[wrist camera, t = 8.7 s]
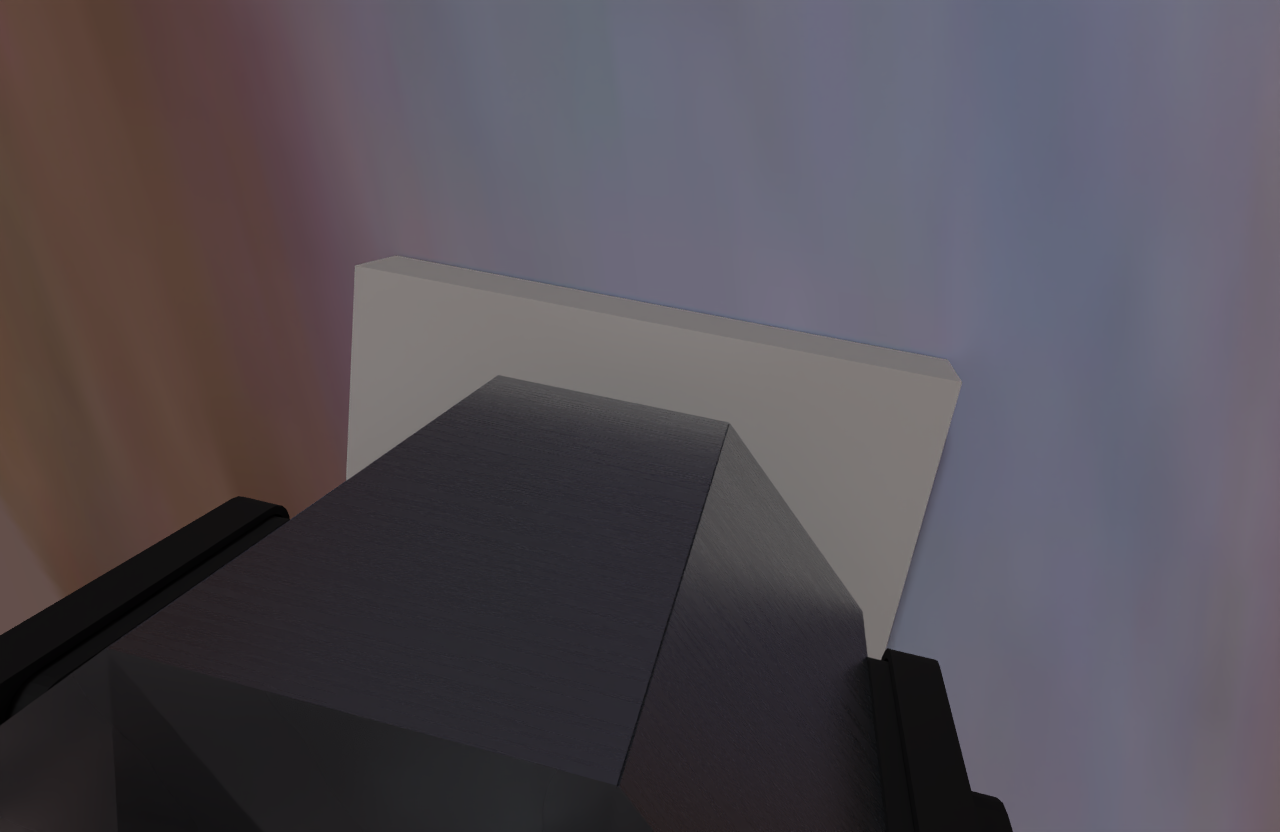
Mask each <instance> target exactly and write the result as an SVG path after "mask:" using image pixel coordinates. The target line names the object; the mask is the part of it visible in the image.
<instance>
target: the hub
mask: <svg viewBox="0 0 1280 832" xmlns="http://www.w3.org/2000/svg"><path fill="white" fill-rule="evenodd" d="M866 657H868V654H867V645H866V637H865V628H864V619H863V611H862V610H861V608H860V607H859V605H858V604H857V603H856V601H855V600H854V598H853V597H852V596H851V594H850V593H849V591H848V590H847V588H846V587H845V586H844V584H843V583H842V581H841V580H840V579H839V577H838V576H837V574H836V573H835V571H834V570H833V569H832V567H831V566H830V564H829V563H828V561H827V560H826V559H825V557H824V556H823V554H822V553H821V552H820V550H819V549H818V547H817V546H816V544H815V543H814V542H813V540H812V539H811V537H810V536H809V535H808V533H807V532H806V530H805V529H804V527H803V526H802V525H801V523H800V522H799V520H798V519H797V518H796V516H795V515H794V513H793V512H792V510H791V509H790V508H789V506H788V505H787V503H786V502H785V501H784V499H783V498H782V496H781V495H780V493H779V492H778V491H777V489H776V488H775V486H774V485H773V483H772V482H771V481H770V479H769V478H768V476H767V475H766V474H765V472H764V471H763V469H762V468H761V466H760V465H759V464H758V462H757V461H756V459H755V458H754V457H753V455H752V454H751V452H750V451H749V449H748V448H747V447H746V445H745V444H744V442H743V441H742V440H741V438H740V437H739V435H738V434H737V432H736V431H735V430H734V428H733V427H732V425H731V424H730V423H729V422H725V421H720V420H715V419H710V418H705V417H700V416H695V415H691V414H686V413H681V412H676V411H671V410H666V409H661V408H656V407H652V406H647V405H642V404H637V403H632V402H627V401H622V400H617V399H613V398H608V397H603V396H598V395H593V394H588V393H583V392H578V391H574V390H569V389H564V388H559V387H554V386H549V385H544V384H540V383H535V382H530V381H525V380H520V379H515V378H510V377H505V376H501V375H497V376H496V377H494V378H493V379H492V380H490V381H489V382H487V383H486V384H484V385H483V386H482V387H480V388H479V389H477V390H476V391H474V392H473V393H471V394H470V395H469V396H467V397H466V398H464V399H463V400H461V401H460V402H459V403H457V404H456V405H454V406H453V407H451V408H450V409H449V410H447V411H446V412H444V413H443V414H441V415H440V416H438V417H437V418H436V419H434V420H433V421H431V422H430V423H428V424H427V425H426V426H424V427H423V428H421V429H420V430H418V431H417V432H416V433H414V434H413V435H411V436H410V437H408V438H407V439H405V440H404V441H403V442H401V443H400V444H398V445H397V446H395V447H394V448H393V449H391V450H390V451H388V452H387V453H385V454H384V455H382V456H381V457H380V458H378V459H377V460H375V461H374V462H372V463H371V464H370V465H368V466H367V467H365V468H364V469H362V470H361V471H360V472H358V473H357V474H355V475H354V476H352V477H351V478H349V479H348V480H347V481H345V482H344V483H342V484H341V485H339V486H338V487H337V488H335V489H334V490H332V491H331V492H329V493H328V494H327V495H325V496H324V497H322V498H321V499H319V500H318V501H316V502H315V503H314V504H312V505H311V506H309V507H308V508H306V509H305V510H304V511H302V512H301V513H299V514H298V515H296V516H295V517H293V518H292V519H291V520H289V521H288V522H286V523H285V524H283V525H282V526H281V527H279V528H278V529H276V530H275V531H273V532H272V533H271V534H269V535H268V536H266V537H265V538H263V539H262V540H260V541H259V542H258V543H256V544H255V545H253V546H252V547H250V548H249V549H248V550H246V551H245V552H243V553H242V554H240V555H239V556H238V557H236V558H235V559H233V560H232V561H230V562H229V563H227V564H226V565H225V566H223V567H222V568H220V569H219V570H217V571H216V572H215V573H213V574H212V575H210V576H209V577H207V578H206V579H205V580H203V581H202V582H200V583H199V584H197V585H196V586H194V587H193V588H192V589H190V590H189V591H187V592H186V593H184V594H183V595H182V596H180V597H179V598H177V599H176V600H174V601H173V602H171V603H170V604H169V605H167V606H166V607H164V608H163V609H161V610H160V611H159V612H157V613H156V614H154V615H153V616H151V617H150V618H149V619H147V620H146V621H144V622H143V623H141V624H140V625H138V626H137V627H136V628H134V629H133V630H131V631H130V632H128V633H127V634H126V635H124V636H123V637H121V638H120V639H118V640H117V641H116V642H114V643H113V644H111V645H110V646H108V647H107V648H105V649H104V650H103V651H101V652H100V653H99V654H97V655H96V656H95V657H93V658H92V659H90V660H89V661H88V662H86V663H85V664H84V665H82V666H81V667H80V668H78V669H77V670H75V671H74V672H73V673H71V674H70V675H69V676H67V677H66V678H64V679H63V680H62V681H60V682H59V683H58V684H56V685H55V686H54V687H52V688H51V689H49V690H48V691H47V692H45V693H44V694H43V695H41V696H40V697H39V698H37V699H36V700H34V701H33V702H32V703H30V704H29V705H28V706H26V707H25V708H24V709H22V710H21V711H19V712H18V713H17V714H15V715H14V716H13V717H11V718H10V719H8V720H7V721H6V722H4V723H3V724H2V725H0V832H886V830H885V821H884V811H883V802H882V793H881V784H880V775H879V766H878V757H877V748H876V739H875V730H874V721H873V712H872V703H871V694H870V685H869V676H868V667H867V658H866Z"/></svg>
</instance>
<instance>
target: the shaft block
mask: <svg viewBox="0 0 1280 832" xmlns="http://www.w3.org/2000/svg"><path fill="white" fill-rule="evenodd" d="M497 375H501V376H505V377H510V378H515V379H520V380H525V381H530V382H535V383H540V384H544V385H549V386H554V387H559V388H564V389H569V390H574V391H578V392H583V393H588V394H593V395H598V396H603V397H608V398H613V399H617V400H622V401H627V402H632V403H637V404H642V405H647V406H652V407H656V408H661V409H666V410H671V411H676V412H681V413H686V414H691V415H695V416H700V417H705V418H710V419H715V420H720V421H725V422H729V423H730V424H731V425H732V427H733V428H734V430H735V431H736V432H737V434H738V435H739V437H740V438H741V440H742V441H743V442H744V444H745V445H746V447H747V448H748V449H749V451H750V452H751V454H752V455H753V457H754V458H755V459H756V461H757V462H758V464H759V465H760V466H761V468H762V469H763V471H764V472H765V474H766V475H767V476H768V478H769V479H770V481H771V482H772V483H773V485H774V486H775V488H776V489H777V491H778V492H779V493H780V495H781V496H782V498H783V499H784V501H785V502H786V503H787V505H788V506H789V508H790V509H791V510H792V512H793V513H794V515H795V516H796V518H797V519H798V520H799V522H800V523H801V525H802V526H803V527H804V529H805V530H806V532H807V533H808V535H809V536H810V537H811V539H812V540H813V542H814V543H815V544H816V546H817V547H818V549H819V550H820V552H821V553H822V554H823V556H824V557H825V559H826V560H827V561H828V563H829V564H830V566H831V567H832V569H833V570H834V571H835V573H836V574H837V576H838V577H839V579H840V580H841V581H842V583H843V584H844V586H845V587H846V588H847V590H848V591H849V593H850V594H851V596H852V597H853V598H854V600H855V601H856V603H857V604H858V605H859V607H860V608H861V610H862V611H863V619H864V628H865V637H866V645H867V654H868V657H870V658H874V659H879V660H881V658H882V656H883V654H884V652H885V650H886V646H887V643H888V639H889V636H890V632H891V629H892V625H893V622H894V618H895V615H896V611H897V608H898V604H899V601H900V597H901V594H902V590H903V587H904V583H905V580H906V576H907V573H908V569H909V566H910V562H911V559H912V555H913V552H914V548H915V545H916V541H917V538H918V534H919V531H920V527H921V524H922V521H923V517H924V514H925V510H926V507H927V503H928V500H929V496H930V493H931V489H932V486H933V482H934V479H935V475H936V472H937V468H938V465H939V461H940V458H941V454H942V451H943V447H944V444H945V440H946V437H947V433H948V430H949V426H950V423H951V419H952V416H953V412H954V409H955V405H956V402H957V398H958V395H959V391H960V388H961V384H962V381H961V380H960V378H959V377H958V375H957V374H956V372H955V370H954V369H953V367H952V366H951V364H950V363H949V361H948V360H946V359H941V358H936V357H931V356H925V355H920V354H915V353H909V352H904V351H899V350H894V349H888V348H883V347H878V346H872V345H867V344H862V343H857V342H851V341H846V340H841V339H835V338H830V337H825V336H819V335H814V334H809V333H804V332H798V331H793V330H788V329H782V328H777V327H772V326H767V325H761V324H756V323H751V322H745V321H740V320H735V319H730V318H724V317H719V316H714V315H708V314H703V313H698V312H693V311H687V310H682V309H677V308H671V307H666V306H661V305H656V304H650V303H645V302H640V301H634V300H629V299H624V298H618V297H613V296H608V295H603V294H597V293H592V292H587V291H581V290H576V289H571V288H566V287H560V286H555V285H550V284H544V283H539V282H534V281H529V280H523V279H518V278H513V277H507V276H502V275H497V274H492V273H486V272H481V271H476V270H470V269H465V268H460V267H455V266H449V265H444V264H439V263H433V262H428V261H423V260H417V259H412V258H407V257H402V256H392V257H388V258H384V259H380V260H376V261H372V262H368V263H364V264H360V265H355V281H354V305H353V330H352V354H351V378H350V402H349V426H348V450H347V474H346V481H347V480H348V479H349V478H351V477H352V476H354V475H355V474H357V473H358V472H360V471H361V470H362V469H364V468H365V467H367V466H368V465H370V464H371V463H372V462H374V461H375V460H377V459H378V458H380V457H381V456H382V455H384V454H385V453H387V452H388V451H390V450H391V449H393V448H394V447H395V446H397V445H398V444H400V443H401V442H403V441H404V440H405V439H407V438H408V437H410V436H411V435H413V434H414V433H416V432H417V431H418V430H420V429H421V428H423V427H424V426H426V425H427V424H428V423H430V422H431V421H433V420H434V419H436V418H437V417H438V416H440V415H441V414H443V413H444V412H446V411H447V410H449V409H450V408H451V407H453V406H454V405H456V404H457V403H459V402H460V401H461V400H463V399H464V398H466V397H467V396H469V395H470V394H471V393H473V392H474V391H476V390H477V389H479V388H480V387H482V386H483V385H484V384H486V383H487V382H489V381H490V380H492V379H493V378H494V377H496V376H497Z"/></svg>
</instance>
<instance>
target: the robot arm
mask: <svg viewBox="0 0 1280 832" xmlns="http://www.w3.org/2000/svg"><path fill="white" fill-rule="evenodd" d="M289 520H290V519H289V514H288V512H287V510H286V509H285V508H284V507H283V506H280V505H276V504H272V503H267V502H263V501H259V500H255V499H250V498H246V497H240V496H238V497H235V498H233V499H231V500H229V501H227V502H226V503H224V504H222V505H220V506H219V507H217V508H215V509H214V510H212V511H210V512H209V513H207V514H205V515H204V516H202V517H200V518H198V519H197V520H195V521H193V522H192V523H190V524H188V525H187V526H185V527H183V528H182V529H180V530H178V531H176V532H175V533H173V534H171V535H170V536H168V537H166V538H165V539H163V540H161V541H159V542H158V543H156V544H154V545H153V546H151V547H149V548H148V549H146V550H144V551H143V552H141V553H139V554H137V555H136V556H134V557H132V558H131V559H129V560H127V561H126V562H124V563H122V564H121V565H119V566H117V567H115V568H114V569H112V570H110V571H109V572H107V573H105V574H104V575H102V576H100V577H98V578H97V579H95V580H93V581H92V582H90V583H88V584H87V585H85V586H83V587H82V588H80V589H78V590H76V591H75V592H73V593H71V594H70V595H68V596H66V597H65V598H63V599H61V600H60V601H58V602H56V603H54V604H53V605H51V606H49V607H48V608H46V609H44V610H43V611H41V612H39V613H38V614H36V615H34V616H32V617H31V618H29V619H27V620H26V621H24V622H22V623H21V624H19V625H17V626H15V627H14V628H12V629H10V630H9V631H7V632H5V633H4V634H2V635H0V725H2V724H3V723H4V722H6V721H7V720H8V719H10V718H11V717H13V716H14V715H15V714H17V713H18V712H19V711H21V710H22V709H24V708H25V707H26V706H28V705H29V704H30V703H32V702H33V701H34V700H36V699H37V698H39V697H40V696H41V695H43V694H44V693H45V692H47V691H48V690H49V689H51V688H52V687H54V686H55V685H56V684H58V683H59V682H60V681H62V680H63V679H64V678H66V677H67V676H69V675H70V674H71V673H73V672H74V671H75V670H77V669H78V668H80V667H81V666H82V665H84V664H85V663H86V662H88V661H89V660H90V659H92V658H93V657H95V656H96V655H97V654H99V653H100V652H101V651H103V650H104V649H105V648H107V647H108V646H110V645H111V644H113V643H114V642H116V641H117V640H118V639H120V638H121V637H123V636H124V635H126V634H127V633H128V632H130V631H131V630H133V629H134V628H136V627H137V626H138V625H140V624H141V623H143V622H144V621H146V620H147V619H149V618H150V617H151V616H153V615H154V614H156V613H157V612H159V611H160V610H161V609H163V608H164V607H166V606H167V605H169V604H170V603H171V602H173V601H174V600H176V599H177V598H179V597H180V596H182V595H183V594H184V593H186V592H187V591H189V590H190V589H192V588H193V587H194V586H196V585H197V584H199V583H200V582H202V581H203V580H205V579H206V578H207V577H209V576H210V575H212V574H213V573H215V572H216V571H217V570H219V569H220V568H222V567H223V566H225V565H226V564H227V563H229V562H230V561H232V560H233V559H235V558H236V557H238V556H239V555H240V554H242V553H243V552H245V551H246V550H248V549H249V548H250V547H252V546H253V545H255V544H256V543H258V542H259V541H260V540H262V539H263V538H265V537H266V536H268V535H269V534H271V533H272V532H273V531H275V530H276V529H278V528H279V527H281V526H282V525H283V524H285V523H286V522H288V521H289ZM866 658H867V667H868V676H869V685H870V694H871V703H872V712H873V721H874V730H875V739H876V748H877V757H878V766H879V775H880V784H881V793H882V802H883V811H884V821H885V830H886V832H1013V831H1012V827H1011V824H1010V821H1009V817H1008V814H1007V812H1006V809H1005V807H1004V805H1003V803H1002V802H1001V801H1000V800H999V799H998V798H997V797H993V796H989V795H985V794H981V793H977V792H973V791H971V788H970V784H969V780H968V776H967V772H966V768H965V764H964V760H963V756H962V752H961V748H960V744H959V741H958V737H957V733H956V729H955V725H954V721H953V717H952V713H951V709H950V705H949V701H948V697H947V693H946V689H945V685H944V681H943V677H942V673H941V669H940V666H939V663H938V661H936V660H934V659H930V658H925V657H921V656H917V655H913V654H908V653H904V652H900V651H896V650H891V649H887V650H885V652H884V654H883V656H882V658H881V660H879V659H874V658H870V657H866Z"/></svg>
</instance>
